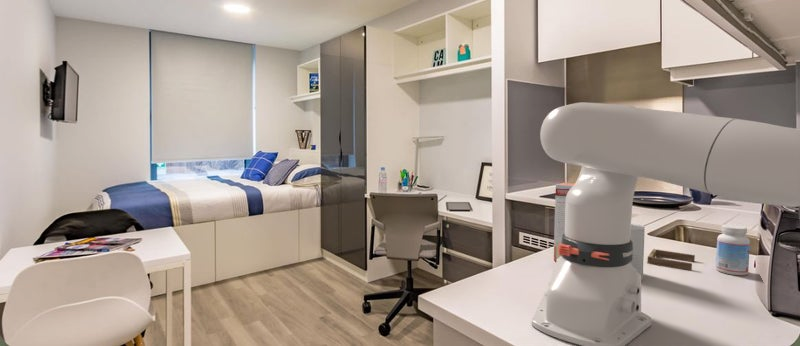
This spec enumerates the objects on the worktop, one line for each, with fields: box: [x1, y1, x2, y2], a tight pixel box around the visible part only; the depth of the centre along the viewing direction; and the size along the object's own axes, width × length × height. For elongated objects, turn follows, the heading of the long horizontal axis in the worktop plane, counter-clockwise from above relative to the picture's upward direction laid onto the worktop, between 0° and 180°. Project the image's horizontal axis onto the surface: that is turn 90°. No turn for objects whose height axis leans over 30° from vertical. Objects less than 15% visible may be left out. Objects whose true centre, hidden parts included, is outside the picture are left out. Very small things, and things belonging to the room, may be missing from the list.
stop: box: [647, 248, 696, 271], centre depth 104 cm, size 10×9×2 cm
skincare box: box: [630, 223, 645, 282], centre depth 93 cm, size 6×4×12 cm
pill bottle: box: [715, 224, 751, 276], centre depth 95 cm, size 6×6×11 cm
